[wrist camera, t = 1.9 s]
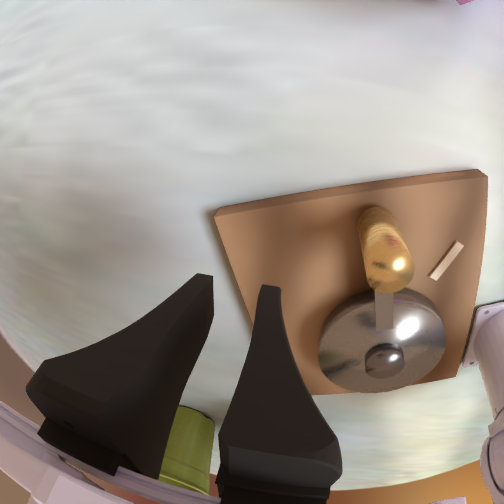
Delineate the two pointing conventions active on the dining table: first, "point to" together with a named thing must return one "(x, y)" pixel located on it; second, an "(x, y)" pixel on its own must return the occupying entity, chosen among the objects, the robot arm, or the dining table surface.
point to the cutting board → (360, 255)
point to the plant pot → (189, 451)
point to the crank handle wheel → (382, 318)
